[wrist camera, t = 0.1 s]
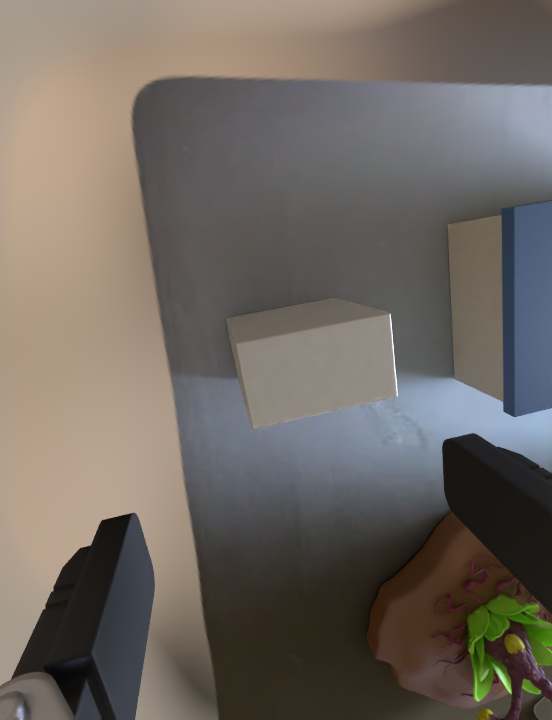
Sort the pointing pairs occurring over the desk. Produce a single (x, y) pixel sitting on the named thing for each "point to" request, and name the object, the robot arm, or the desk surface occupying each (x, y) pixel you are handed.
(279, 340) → the white case
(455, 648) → the plant
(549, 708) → the usb wall charger
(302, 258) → the desk surface
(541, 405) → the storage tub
